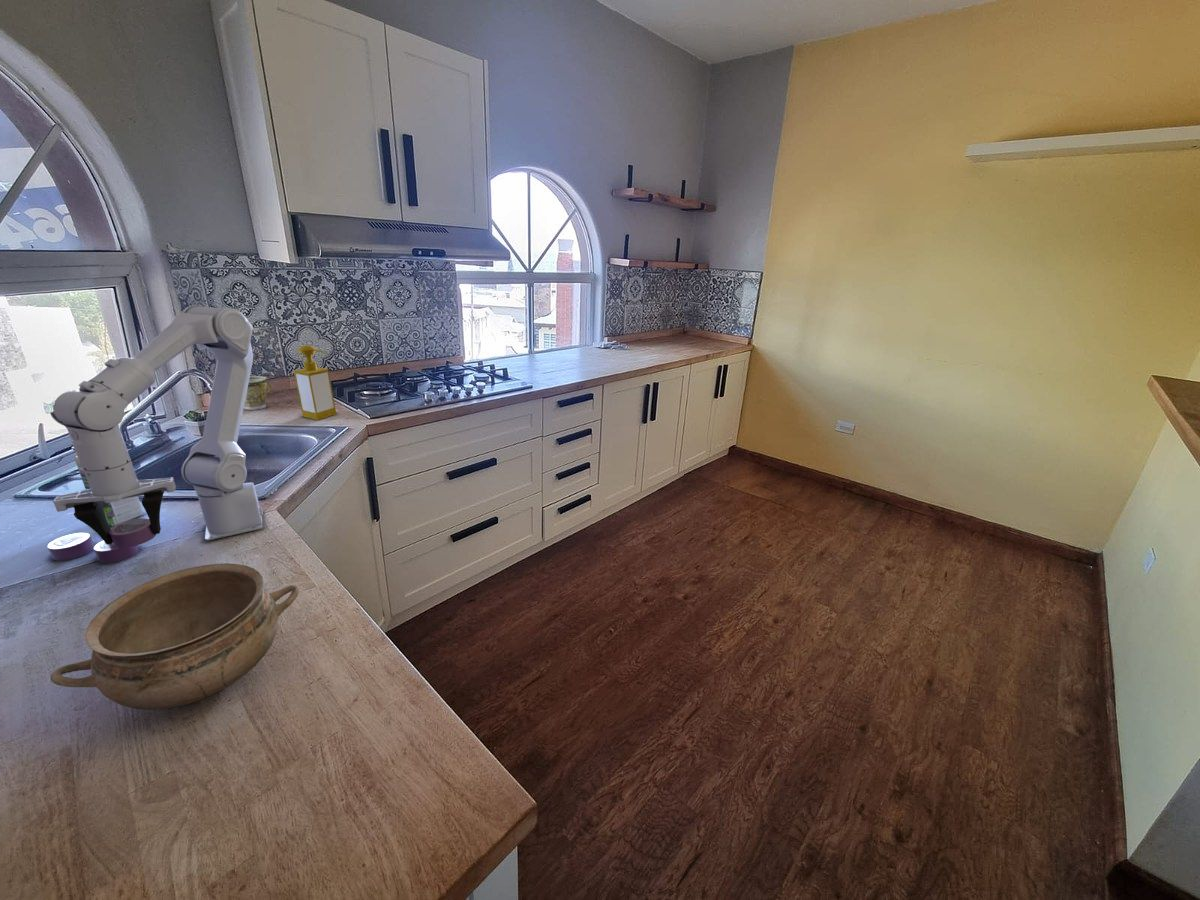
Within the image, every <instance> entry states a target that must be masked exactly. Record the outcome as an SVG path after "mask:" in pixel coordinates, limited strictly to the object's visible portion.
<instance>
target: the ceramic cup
mask: <svg viewBox="0 0 1200 900" xmlns="http://www.w3.org/2000/svg"><path fill="white" fill-rule="evenodd" d="M267 386H268V390H267ZM271 390H272V385H271V383H270V382H267V377H265V376H261V375H250V378H249V383H248V388H247V393H246V399H245V404H244V409H243V410H246V411H256V410H262V409H265V408H266V407H267V394H268V393H269V392H271Z"/></svg>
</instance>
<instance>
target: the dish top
mask: <svg viewBox="0 0 1200 900" xmlns="http://www.w3.org/2000/svg"><path fill="white" fill-rule="evenodd" d="M94 546H95V543H94V541H93V539H92V536H91V534H90V533H88V532H77V533H71V534H67V535H63V536H60V537H57V538H55V539H53V540H52V541H50V542H49V543H48V544H47V545H46V548H47V549H48V552H49V554H50V556H51V559H52V560H54V561H56V562H58V561H59V562H63V561H69V560H73V559H78V558H80V557H82V556H85V555H88V553H89V554H90V553H91V552H92V551H94Z"/></svg>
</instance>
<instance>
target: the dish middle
mask: <svg viewBox="0 0 1200 900" xmlns="http://www.w3.org/2000/svg"><path fill="white" fill-rule="evenodd" d="M110 528H111V529H110V530H109V531H108V533H109V536H110V538H111V541H112V543H113V545H114V546H115V547H117V548H127V547H133V546H137V545H138V546H140V545H142V544H145V543H147V542H149V541H151V540H152V539H155V537H156V536H157V534H155V535H154V533H153V531H152V527H151V523H150V520H149V518H147V517H143V518H133V519H130V520H128V521H125V522H122V523H119V524H117V525H115V526H111V527H110Z"/></svg>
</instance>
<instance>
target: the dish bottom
mask: <svg viewBox="0 0 1200 900" xmlns="http://www.w3.org/2000/svg"><path fill="white" fill-rule="evenodd" d="M139 549H140V547H139V545H137V546H133V547H127V548H117V547H115V546H114V545H113V543H112V544H106V543H105V542H104V540H103V539H102V540H101V541H100V542H98V543H96V544H94V549H93V551H94V553H95V554H94V555H95V557H96V558H97V560H98V563H101V564H110V563H116V562H121V561H123V560H126V559H129V558H131V557H132V556H134V555H136V554H137V553H138V552H139Z"/></svg>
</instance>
